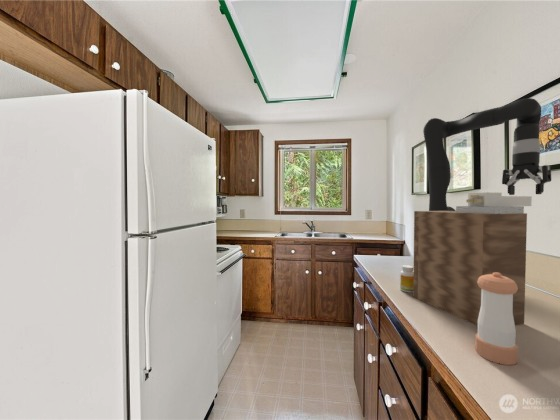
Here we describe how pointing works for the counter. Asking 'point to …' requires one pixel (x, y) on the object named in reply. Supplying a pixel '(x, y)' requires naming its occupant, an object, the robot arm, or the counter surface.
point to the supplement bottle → (407, 278)
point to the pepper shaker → (496, 319)
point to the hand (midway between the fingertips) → (524, 194)
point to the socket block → (490, 209)
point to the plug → (497, 200)
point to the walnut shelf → (467, 259)
